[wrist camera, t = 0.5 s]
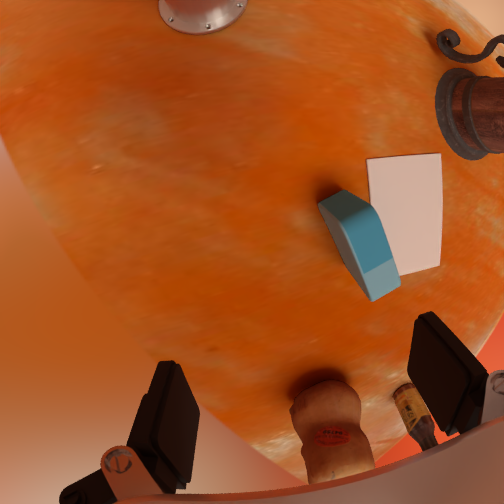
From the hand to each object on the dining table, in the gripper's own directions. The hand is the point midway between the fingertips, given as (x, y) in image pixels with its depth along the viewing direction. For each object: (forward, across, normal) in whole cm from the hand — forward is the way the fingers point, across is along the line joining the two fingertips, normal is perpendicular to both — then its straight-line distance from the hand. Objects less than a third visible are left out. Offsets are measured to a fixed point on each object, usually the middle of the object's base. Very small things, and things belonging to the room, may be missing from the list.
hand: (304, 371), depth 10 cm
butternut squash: (+35, -6, +40) cm, 53 cm away
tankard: (+33, -37, -15) cm, 52 cm away
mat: (+33, -23, +5) cm, 41 cm away
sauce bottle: (+35, -27, +49) cm, 66 cm away
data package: (+33, -12, +5) cm, 36 cm away
